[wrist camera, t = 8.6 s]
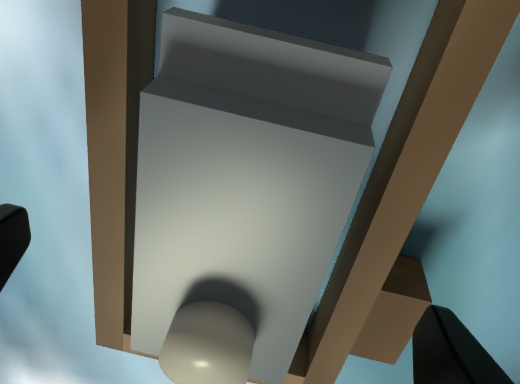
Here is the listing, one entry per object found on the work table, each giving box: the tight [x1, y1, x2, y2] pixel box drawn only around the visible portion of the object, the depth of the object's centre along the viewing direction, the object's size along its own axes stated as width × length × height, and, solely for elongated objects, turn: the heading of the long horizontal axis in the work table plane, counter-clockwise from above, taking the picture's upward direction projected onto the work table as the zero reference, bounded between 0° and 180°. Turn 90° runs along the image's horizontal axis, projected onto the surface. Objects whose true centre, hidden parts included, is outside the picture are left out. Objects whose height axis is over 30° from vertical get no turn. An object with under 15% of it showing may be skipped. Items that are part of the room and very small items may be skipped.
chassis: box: [81, 0, 520, 384], centre depth 12 cm, size 10×14×2 cm
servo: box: [130, 7, 393, 384], centre depth 10 cm, size 4×9×6 cm, turn 169°
